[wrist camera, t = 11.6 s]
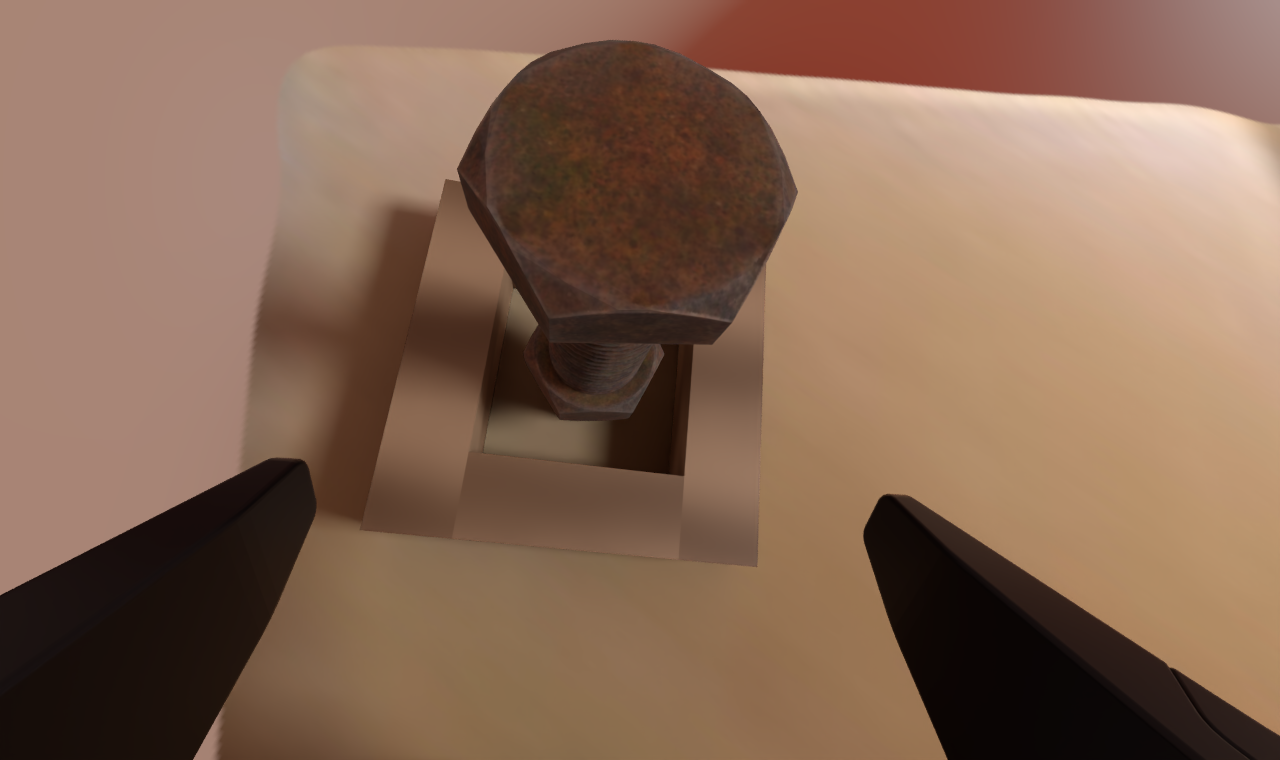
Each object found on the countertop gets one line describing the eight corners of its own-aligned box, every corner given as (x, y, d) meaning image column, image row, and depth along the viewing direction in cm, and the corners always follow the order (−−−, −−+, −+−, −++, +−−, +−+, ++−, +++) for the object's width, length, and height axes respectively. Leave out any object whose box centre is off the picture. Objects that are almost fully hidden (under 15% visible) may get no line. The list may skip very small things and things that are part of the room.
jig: (730, 560, 21) (757, 567, 18) (389, 528, 20) (360, 529, 17) (743, 268, 25) (766, 236, 22) (459, 220, 23) (445, 179, 21)
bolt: (519, 444, 21) (441, 306, 7) (521, 333, 22) (459, 19, 8) (653, 442, 22) (829, 315, 8) (648, 335, 23) (792, 57, 9)
